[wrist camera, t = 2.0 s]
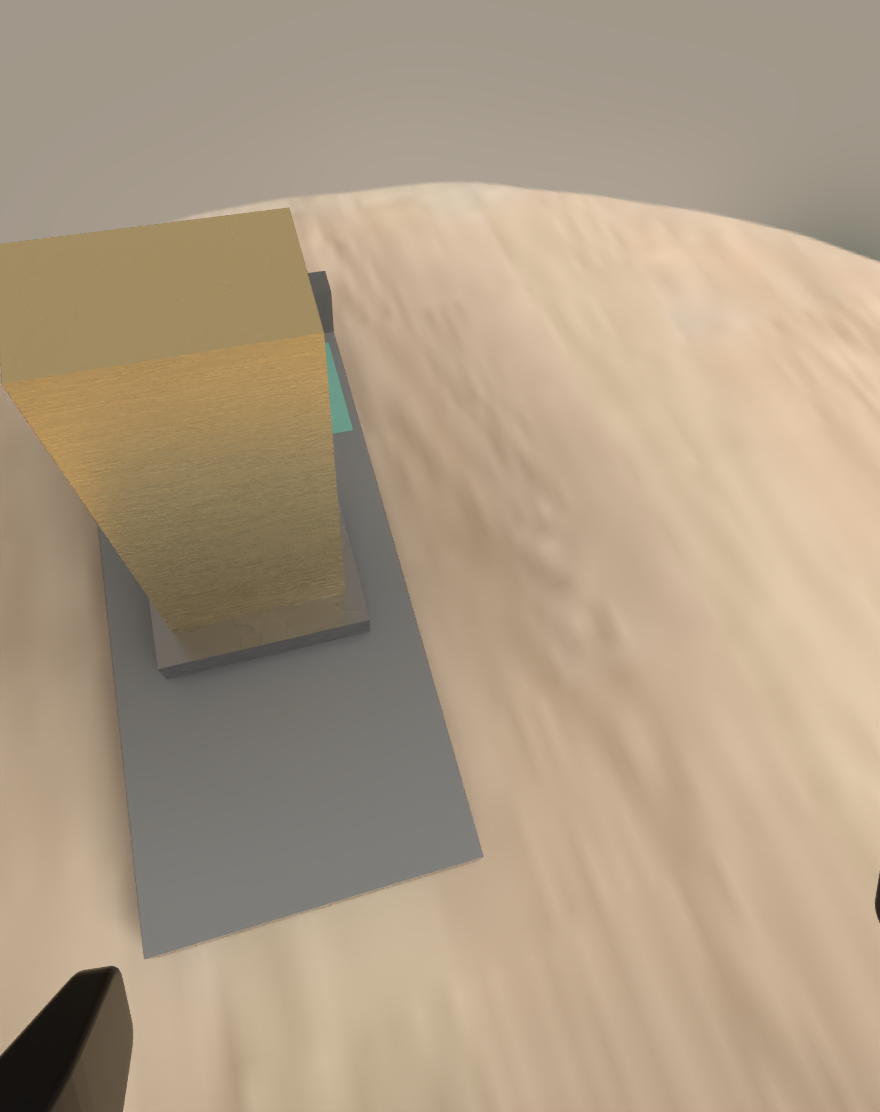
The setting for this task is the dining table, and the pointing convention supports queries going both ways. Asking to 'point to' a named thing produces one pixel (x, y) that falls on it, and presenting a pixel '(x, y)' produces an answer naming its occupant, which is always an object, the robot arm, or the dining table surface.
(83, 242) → the lever
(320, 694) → the rail
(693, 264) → the dining table surface
